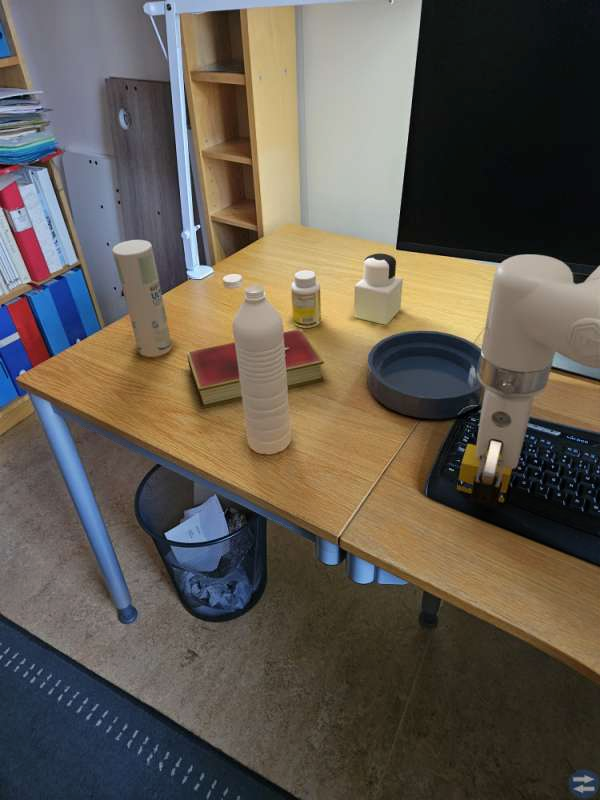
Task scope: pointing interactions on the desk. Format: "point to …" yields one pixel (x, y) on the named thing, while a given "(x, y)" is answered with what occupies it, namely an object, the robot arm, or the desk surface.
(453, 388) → the bowl
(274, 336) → the water bottle
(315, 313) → the supplement bottle
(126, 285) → the spray can
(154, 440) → the desk surface
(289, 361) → the hardcover book
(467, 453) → the sponge
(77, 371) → the desk surface
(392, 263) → the blocky head figurine
